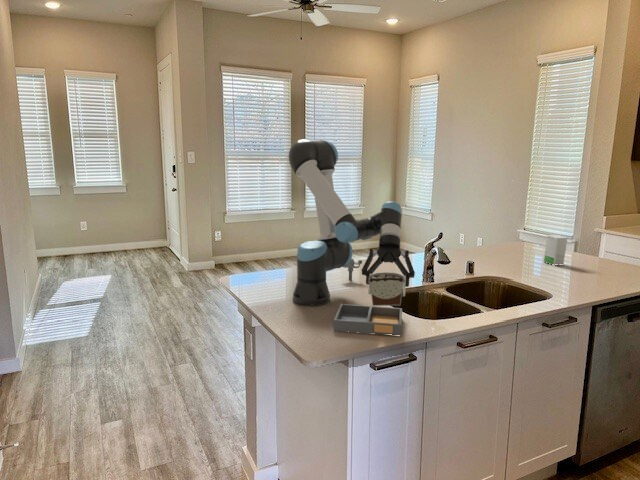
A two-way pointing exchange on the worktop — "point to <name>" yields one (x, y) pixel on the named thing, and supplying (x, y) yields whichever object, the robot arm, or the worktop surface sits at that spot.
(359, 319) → the organizer
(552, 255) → the skincare box
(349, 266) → the mechanical component
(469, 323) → the worktop surface
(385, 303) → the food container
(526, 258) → the worktop surface
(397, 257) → the robot arm
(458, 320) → the worktop surface
